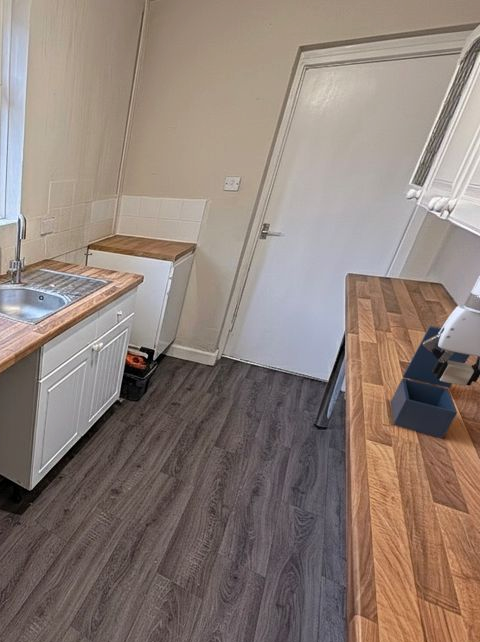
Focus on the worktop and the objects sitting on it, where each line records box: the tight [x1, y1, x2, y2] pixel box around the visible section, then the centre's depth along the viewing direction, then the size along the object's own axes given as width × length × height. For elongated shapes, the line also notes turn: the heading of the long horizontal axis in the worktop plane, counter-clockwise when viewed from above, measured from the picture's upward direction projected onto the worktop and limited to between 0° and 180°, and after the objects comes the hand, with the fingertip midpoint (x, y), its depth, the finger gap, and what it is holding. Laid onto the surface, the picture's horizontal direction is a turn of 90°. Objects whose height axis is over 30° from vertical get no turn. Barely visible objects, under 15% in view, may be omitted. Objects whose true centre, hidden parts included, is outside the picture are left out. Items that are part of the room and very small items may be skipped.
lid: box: [402, 325, 471, 389], centre depth 109 cm, size 16×9×1 cm
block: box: [440, 360, 474, 387], centre depth 94 cm, size 4×4×4 cm
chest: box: [390, 377, 458, 439], centre depth 109 cm, size 15×9×8 cm, turn 138°
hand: (451, 379), depth 95 cm, fingers closed on block, 4 cm apart
